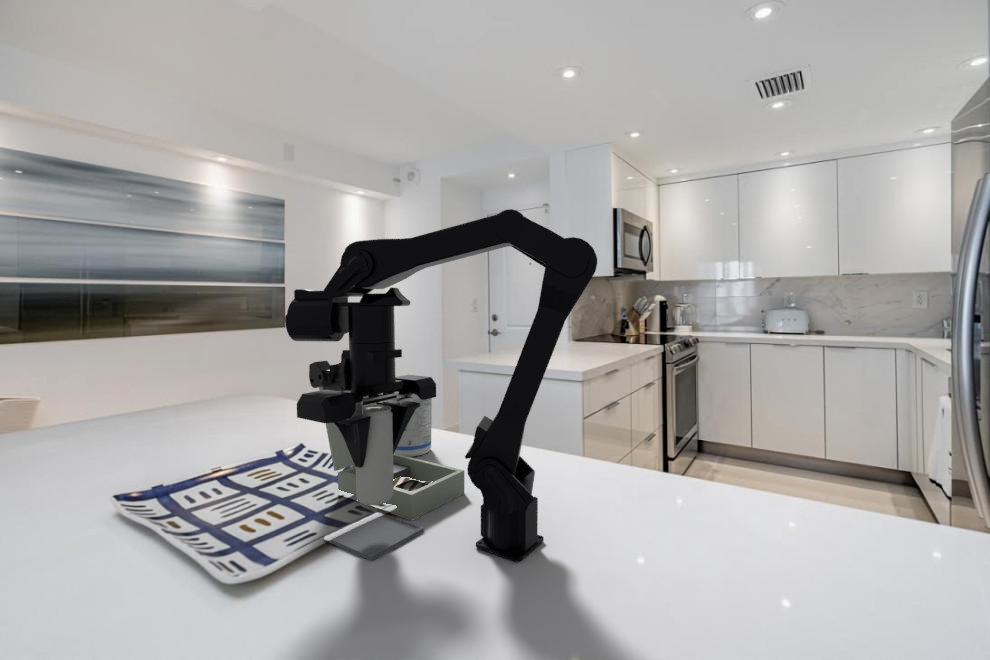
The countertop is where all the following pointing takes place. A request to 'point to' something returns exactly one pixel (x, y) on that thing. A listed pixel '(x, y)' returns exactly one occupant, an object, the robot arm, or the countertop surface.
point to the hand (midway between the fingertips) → (374, 461)
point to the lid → (339, 444)
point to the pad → (377, 537)
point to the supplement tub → (417, 430)
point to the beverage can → (377, 458)
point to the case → (423, 499)
